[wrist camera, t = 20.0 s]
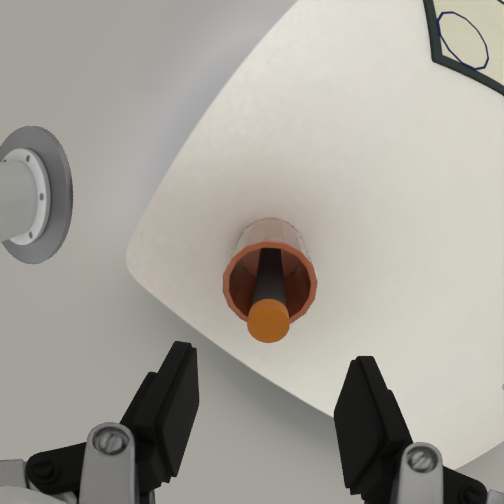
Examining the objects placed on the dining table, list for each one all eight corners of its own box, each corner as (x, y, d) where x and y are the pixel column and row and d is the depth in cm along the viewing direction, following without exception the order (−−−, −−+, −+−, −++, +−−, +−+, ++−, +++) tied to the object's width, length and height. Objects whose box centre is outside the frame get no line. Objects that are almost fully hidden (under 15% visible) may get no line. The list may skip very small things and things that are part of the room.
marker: (258, 262, 25) (246, 341, 14) (259, 240, 25) (248, 305, 13) (281, 264, 25) (286, 344, 14) (283, 242, 24) (292, 309, 13)
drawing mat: (432, 61, 19) (435, 59, 18) (411, -45, 14) (413, -48, 13) (531, 113, 18) (535, 113, 17) (510, 9, 13) (513, 8, 12)
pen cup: (236, 278, 26) (221, 323, 19) (239, 215, 25) (224, 237, 17) (299, 284, 26) (309, 330, 18) (307, 221, 24) (322, 246, 17)
